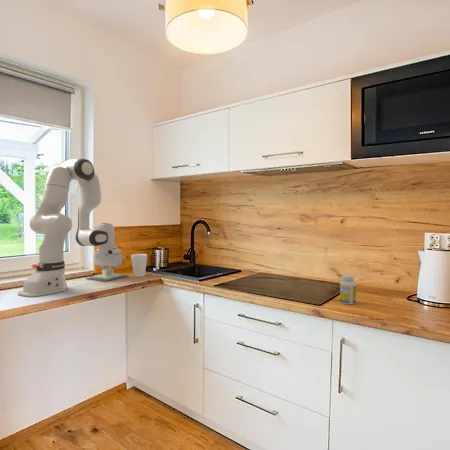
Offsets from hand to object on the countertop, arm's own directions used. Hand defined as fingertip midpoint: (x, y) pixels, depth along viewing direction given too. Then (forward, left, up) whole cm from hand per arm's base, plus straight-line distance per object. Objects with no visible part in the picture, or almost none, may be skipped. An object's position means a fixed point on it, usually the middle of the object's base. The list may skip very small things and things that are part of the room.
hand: (107, 273), depth 201 cm
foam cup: (+13, -13, -3) cm, 19 cm away
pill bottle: (+9, -135, -3) cm, 135 cm away
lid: (0, 0, -2) cm, 2 cm away
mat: (0, 0, -3) cm, 3 cm away
